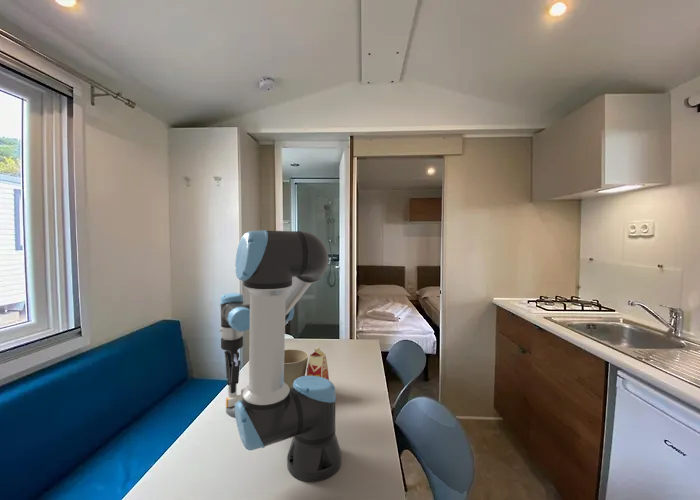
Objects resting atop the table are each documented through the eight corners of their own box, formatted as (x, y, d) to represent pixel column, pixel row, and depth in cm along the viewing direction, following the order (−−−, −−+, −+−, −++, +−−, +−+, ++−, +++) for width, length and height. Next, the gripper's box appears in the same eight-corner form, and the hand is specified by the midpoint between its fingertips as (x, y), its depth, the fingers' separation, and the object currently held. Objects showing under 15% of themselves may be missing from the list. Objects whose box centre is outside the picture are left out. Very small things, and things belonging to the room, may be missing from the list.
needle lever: (249, 397, 122) (249, 386, 122) (252, 402, 119) (252, 390, 119) (225, 404, 117) (224, 392, 117) (227, 409, 114) (227, 396, 114)
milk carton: (325, 403, 123) (325, 351, 122) (301, 401, 125) (302, 349, 124) (331, 392, 132) (331, 343, 131) (309, 390, 134) (309, 342, 133)
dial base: (252, 420, 111) (252, 414, 111) (217, 414, 115) (217, 408, 115) (272, 400, 125) (272, 395, 125) (241, 395, 129) (240, 390, 128)
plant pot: (268, 389, 134) (268, 351, 134) (304, 384, 139) (304, 347, 138) (271, 407, 120) (271, 364, 119) (311, 401, 125) (311, 360, 124)
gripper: (217, 333, 120) (217, 395, 121) (225, 343, 109) (225, 411, 111) (238, 330, 124) (238, 390, 126) (247, 340, 114) (247, 405, 115)
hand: (232, 400), depth 118 cm, fingers closed
